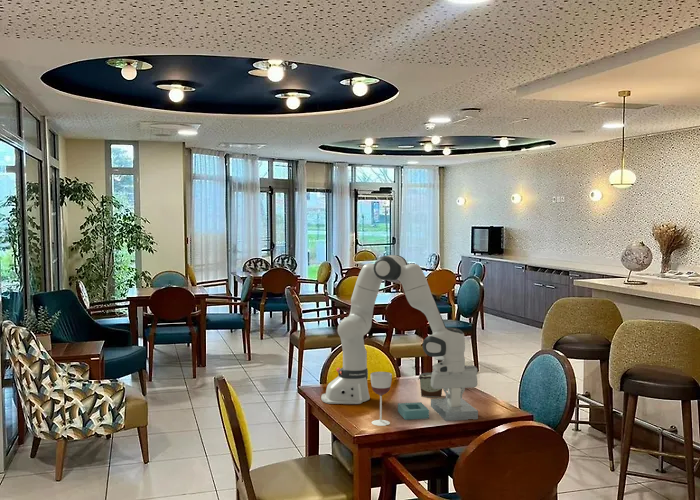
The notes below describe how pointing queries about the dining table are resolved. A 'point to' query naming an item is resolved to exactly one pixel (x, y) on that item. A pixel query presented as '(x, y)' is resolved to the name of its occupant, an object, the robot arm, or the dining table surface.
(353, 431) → the dining table surface
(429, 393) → the food container
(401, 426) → the dining table surface
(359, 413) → the dining table surface
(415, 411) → the teal socket base
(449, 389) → the plug
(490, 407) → the dining table surface
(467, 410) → the box
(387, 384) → the wineglass
